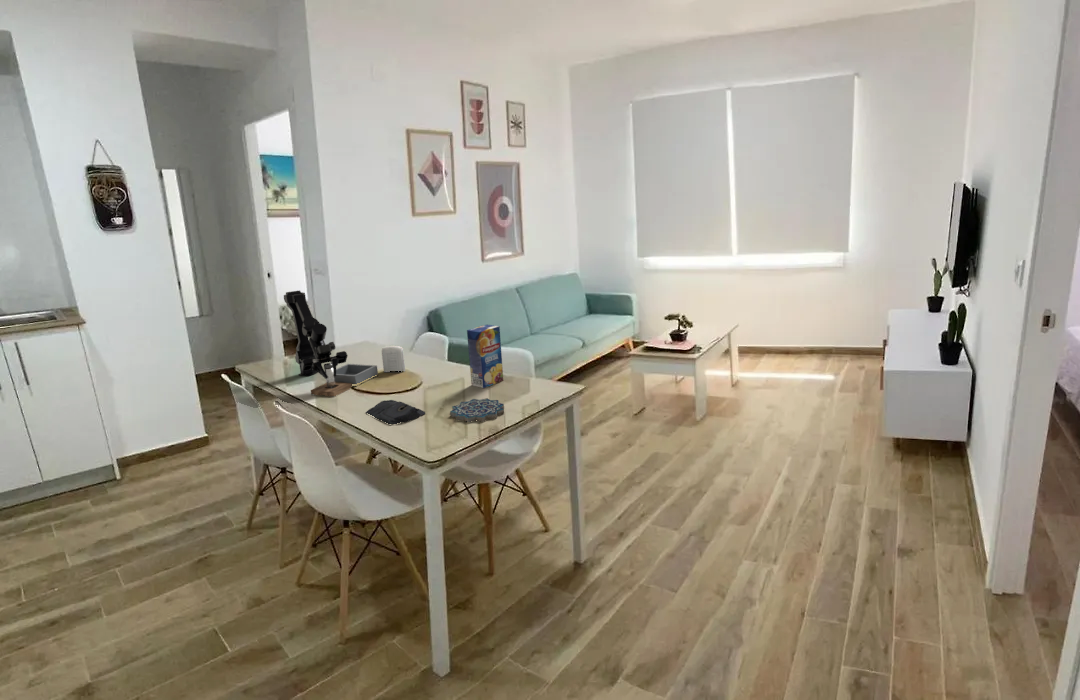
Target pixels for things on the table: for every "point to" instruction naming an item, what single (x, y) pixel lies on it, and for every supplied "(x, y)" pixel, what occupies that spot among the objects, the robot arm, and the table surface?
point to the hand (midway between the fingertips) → (331, 377)
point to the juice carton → (485, 355)
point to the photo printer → (393, 358)
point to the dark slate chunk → (394, 412)
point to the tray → (355, 373)
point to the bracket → (335, 391)
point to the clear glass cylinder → (330, 375)
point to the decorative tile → (477, 410)
